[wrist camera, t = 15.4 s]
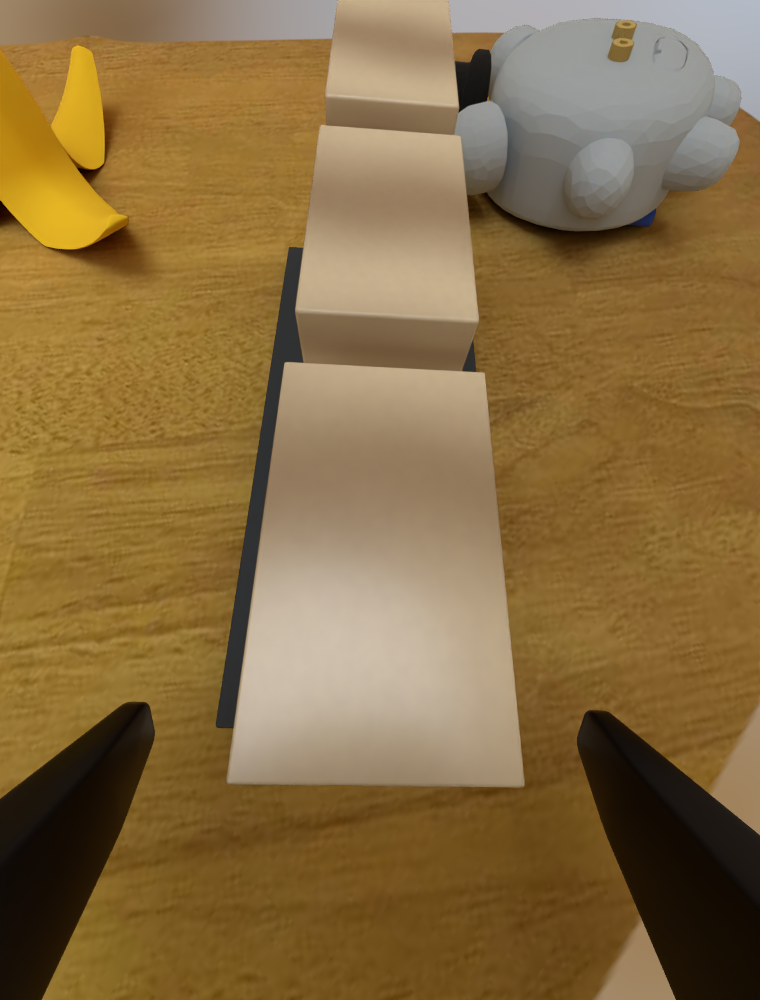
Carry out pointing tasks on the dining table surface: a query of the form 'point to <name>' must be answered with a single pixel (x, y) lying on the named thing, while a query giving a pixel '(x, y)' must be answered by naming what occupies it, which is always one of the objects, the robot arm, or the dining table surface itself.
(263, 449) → the word board
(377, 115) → the light wood tall block
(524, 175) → the figurine
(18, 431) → the dining table surface
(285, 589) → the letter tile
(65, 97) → the banana peel
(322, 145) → the word tile
